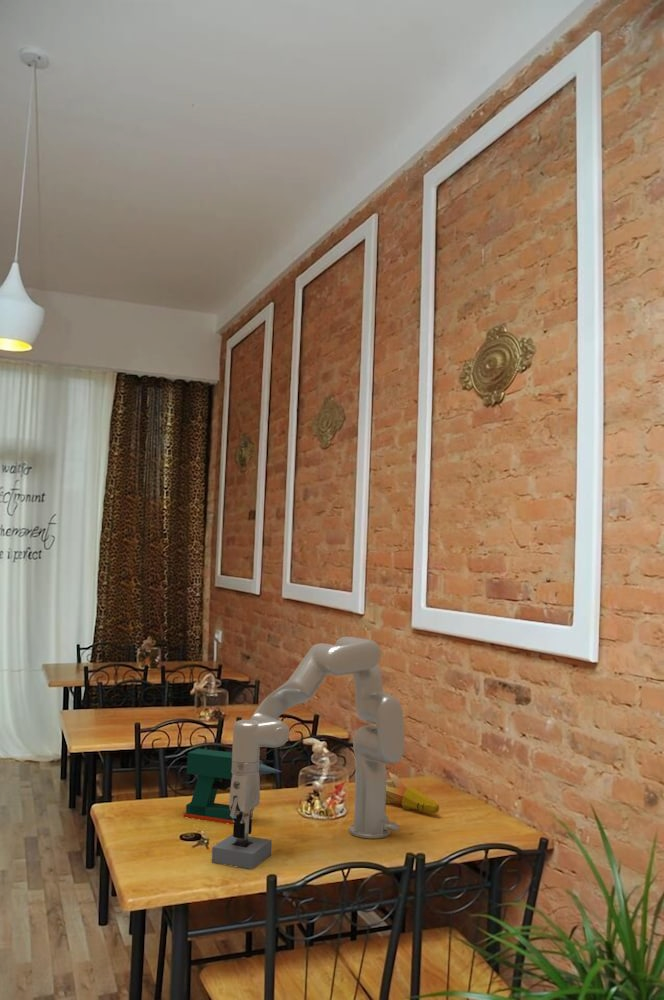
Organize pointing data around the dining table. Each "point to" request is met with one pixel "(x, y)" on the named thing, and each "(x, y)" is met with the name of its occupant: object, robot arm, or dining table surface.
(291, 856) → the dining table surface
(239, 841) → the copper capped vial
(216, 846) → the block
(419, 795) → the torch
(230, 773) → the power tool
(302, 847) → the dining table surface
